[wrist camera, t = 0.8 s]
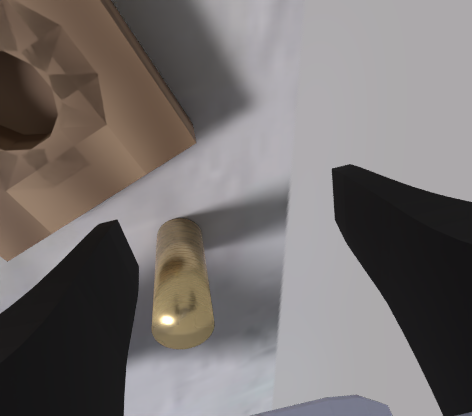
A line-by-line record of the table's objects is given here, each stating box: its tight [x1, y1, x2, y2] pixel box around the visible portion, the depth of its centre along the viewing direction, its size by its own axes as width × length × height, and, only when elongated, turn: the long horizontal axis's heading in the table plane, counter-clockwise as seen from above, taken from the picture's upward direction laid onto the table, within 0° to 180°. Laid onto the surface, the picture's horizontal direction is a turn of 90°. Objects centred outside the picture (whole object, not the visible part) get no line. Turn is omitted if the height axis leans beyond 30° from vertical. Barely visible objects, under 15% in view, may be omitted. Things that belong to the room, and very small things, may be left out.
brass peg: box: [152, 218, 214, 349], centre depth 21 cm, size 3×3×8 cm
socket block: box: [0, 0, 196, 262], centre depth 17 cm, size 12×12×4 cm
